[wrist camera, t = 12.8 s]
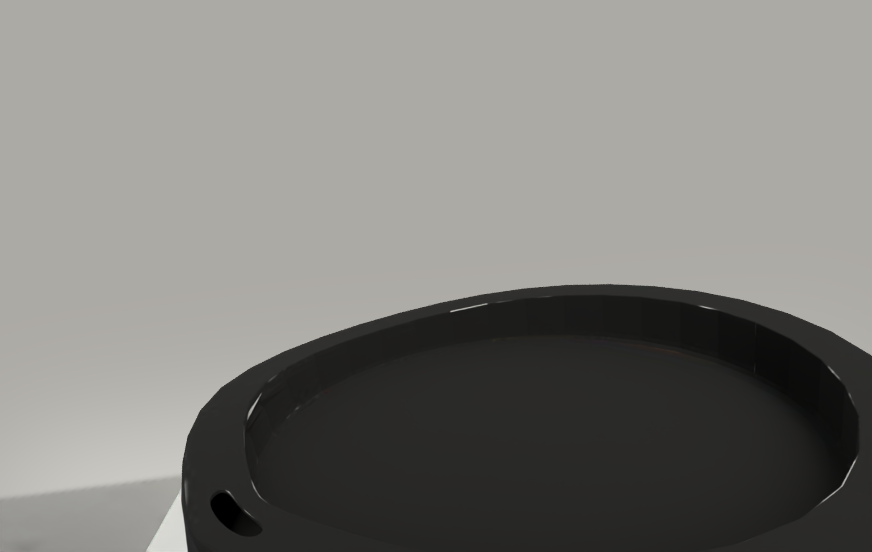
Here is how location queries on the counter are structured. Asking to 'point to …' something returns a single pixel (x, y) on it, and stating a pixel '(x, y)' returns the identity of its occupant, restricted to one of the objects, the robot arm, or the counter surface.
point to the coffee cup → (543, 432)
